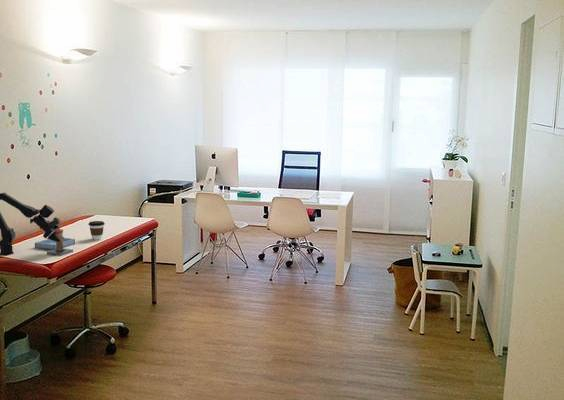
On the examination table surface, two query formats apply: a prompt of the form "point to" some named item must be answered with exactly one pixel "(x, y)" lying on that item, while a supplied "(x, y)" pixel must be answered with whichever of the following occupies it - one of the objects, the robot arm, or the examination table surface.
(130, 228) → the examination table surface
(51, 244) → the pin tray
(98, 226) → the coffee cup
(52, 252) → the plate
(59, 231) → the pin
